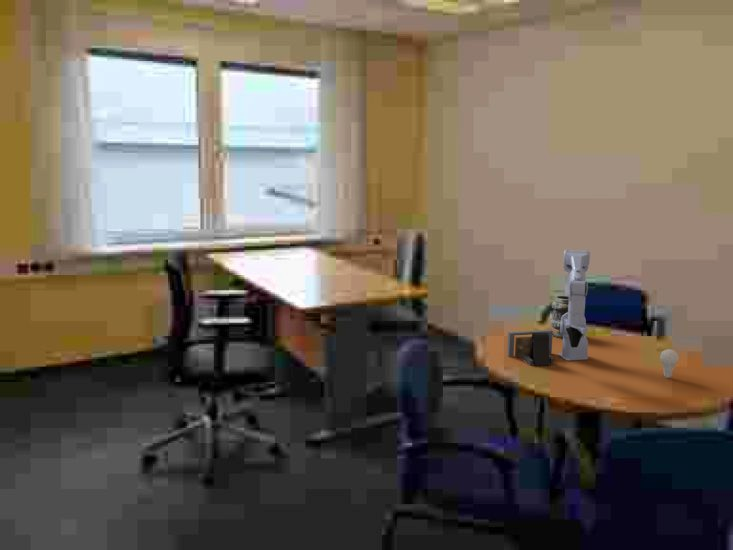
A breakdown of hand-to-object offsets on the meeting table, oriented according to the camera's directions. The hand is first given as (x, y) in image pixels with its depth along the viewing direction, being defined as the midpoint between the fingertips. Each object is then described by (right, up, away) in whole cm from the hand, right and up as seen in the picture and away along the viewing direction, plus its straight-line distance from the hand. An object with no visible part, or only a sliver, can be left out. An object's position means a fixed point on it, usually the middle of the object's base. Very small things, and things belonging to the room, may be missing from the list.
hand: (574, 346), depth 236 cm
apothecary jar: (+11, -1, +50) cm, 51 cm away
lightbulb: (+33, -11, -4) cm, 35 cm away
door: (-10, -6, +21) cm, 24 cm away
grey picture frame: (-11, -6, +23) cm, 27 cm away
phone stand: (-9, -8, +14) cm, 19 cm away
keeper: (-10, -8, +16) cm, 20 cm away
